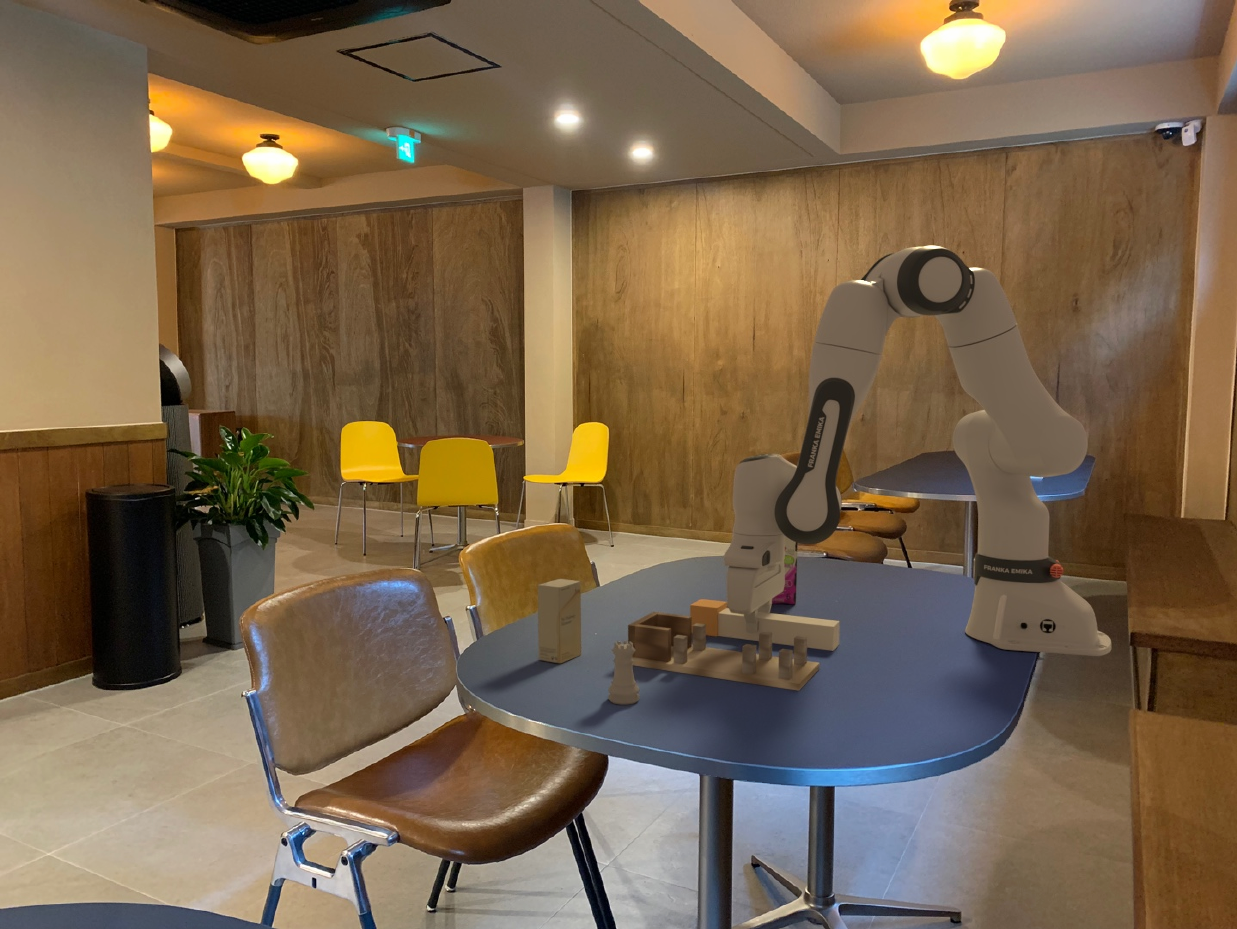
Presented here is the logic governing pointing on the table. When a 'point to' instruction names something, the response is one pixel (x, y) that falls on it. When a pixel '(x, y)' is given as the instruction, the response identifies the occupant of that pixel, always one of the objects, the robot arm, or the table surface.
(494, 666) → the table surface
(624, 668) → the rook chess piece
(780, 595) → the candy bar box
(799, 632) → the orange tipped beige bar
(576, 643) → the skincare box
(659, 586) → the table surface
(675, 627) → the rail
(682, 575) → the table surface
